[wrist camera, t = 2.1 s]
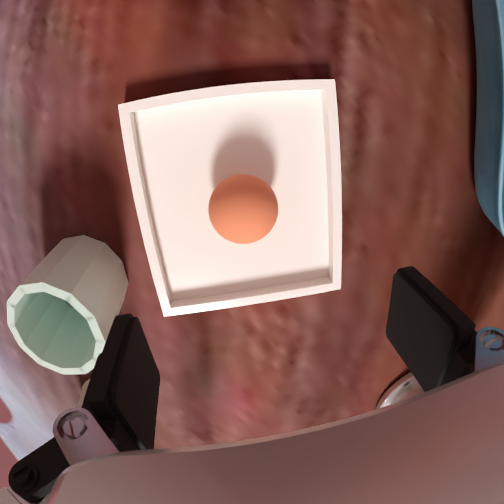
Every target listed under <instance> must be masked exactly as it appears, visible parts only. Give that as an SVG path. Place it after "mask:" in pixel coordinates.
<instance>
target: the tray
mask: <svg viewBox="0 0 504 504" xmlns="http://www.w3.org/2000/svg"><path fill="white" fill-rule="evenodd" d="M118 109H119V116H120V123H121V129H122V136H123V142H124V148H125V154H126V160H127V165H128V171H129V176H130V181H131V186H132V191H133V196H134V201H135V206H136V210H137V215H138V219H139V224H140V228H141V232H142V236H143V241H144V245H145V249H146V253H147V257H148V261H149V265H150V268H151V272H152V276H153V280H154V283H155V287H156V290H157V294H158V298H159V301H160V304H161V308H162V311H163V315H164V317H165V316H173V315H181V314H188V313H196V312H203V311H210V310H217V309H224V308H231V307H238V306H245V305H251V304H257V303H264V302H270V301H276V300H282V299H288V298H294V297H300V296H305V295H311V294H317V293H322V292H328V291H333V290H338V289H341V264H342V193H341V162H340V141H339V125H338V111H337V98H336V87H335V79H314V80H283V81H267V82H254V83H243V84H233V85H224V86H216V87H208V88H201V89H195V90H188V91H182V92H176V93H171V94H165V95H160V96H155V97H150V98H145V99H141V100H136V101H132V102H127V103H123V104H119V105H118ZM239 174H248V175H253V176H256V177H258V178H260V179H262V180H263V181H265V182H266V183H267V184H268V185H269V186H270V187H271V188H272V190H273V191H274V193H275V195H276V198H277V201H278V216H277V220H276V223H275V225H274V226H273V228H272V230H271V231H270V232H269V233H268V234H267V235H266V236H265V237H263V238H262V239H260V240H258V241H256V242H253V243H249V244H238V243H234V242H231V241H228V240H226V239H225V238H223V237H222V236H220V235H219V234H218V233H217V231H216V230H215V229H214V227H213V226H212V224H211V221H210V218H209V212H208V205H209V200H210V197H211V195H212V193H213V191H214V189H215V188H216V187H217V186H218V184H220V183H221V182H222V181H223V180H225V179H227V178H229V177H231V176H234V175H239Z"/></svg>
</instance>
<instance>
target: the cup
mask: <svg viewBox="0 0 504 504" xmlns="http://www.w3.org/2000/svg"><path fill="white" fill-rule="evenodd" d="M128 283H129V282H128V279H127V276H126V272H125V269H124V265H123V262H122V260H121V259H120V258H119V257H118V256H117V255H116V254H115V253H114V252H113V251H112V250H111V248H110V247H109V246H108V245H107V244H106V243H104V242H101V241H99V240H96V239H93V238H91V237H88V236H85V235H80V236H75V237H69V238H64V239H62V240H61V241H60V242H59V243H58V244H57V245H56V246H55V247H54V248H53V249H52V250H51V251H50V253H49V254H48V255H47V256H46V257H45V258H44V259H43V260H42V261H41V262H40V263H39V264H38V265H37V266H36V267H35V268H34V270H33V271H32V272H31V273H30V274H29V275H28V276H27V277H26V278H25V279H24V281H23V282H22V283H21V284H20V285H19V286H18V288H17V289H16V290H15V292H14V293H13V294H12V295H11V297H10V298H9V299H8V301H7V322H8V326H9V328H10V330H11V332H12V334H13V335H14V337H15V339H16V341H17V343H18V345H19V347H20V348H22V349H23V350H24V351H25V352H26V353H27V354H28V355H29V356H30V357H31V358H33V359H34V360H35V361H36V362H37V363H38V364H39V365H42V366H44V367H46V368H49V369H51V370H53V371H56V372H58V373H61V374H87V373H88V372H89V371H91V370H92V369H94V366H95V363H96V360H97V357H98V355H99V354H100V353H102V351H103V348H104V345H105V343H106V340H107V337H108V334H109V331H110V329H111V326H112V323H113V320H114V318H115V316H116V315H119V312H120V310H121V307H122V304H123V302H124V298H125V294H126V291H127V287H128Z"/></svg>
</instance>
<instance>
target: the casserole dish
mask: <svg viewBox="0 0 504 504" xmlns="http://www.w3.org/2000/svg"><path fill="white" fill-rule="evenodd" d="M472 10H473V23H474V33H475V46H476V65H477V109H476V133H475V152H474V180H475V190H476V194H477V198H478V201H479V204H480V206H481V208H482V210H483V211H484V213H485V215H486V216H487V217H488V219H489V220H490V221H491V222H492V223H493V225H494V226H495V227H496V228H497V229H498V230H499V231H500V232H501V234H502V235H503V236H504V0H472Z"/></svg>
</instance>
